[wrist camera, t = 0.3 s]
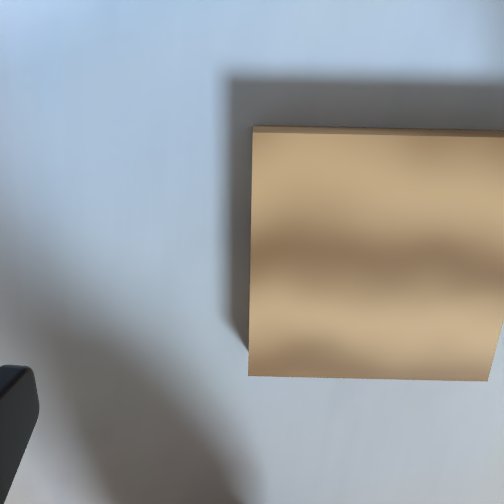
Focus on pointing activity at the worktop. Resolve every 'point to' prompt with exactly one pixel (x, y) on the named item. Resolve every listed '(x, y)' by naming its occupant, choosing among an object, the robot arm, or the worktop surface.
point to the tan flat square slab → (376, 252)
